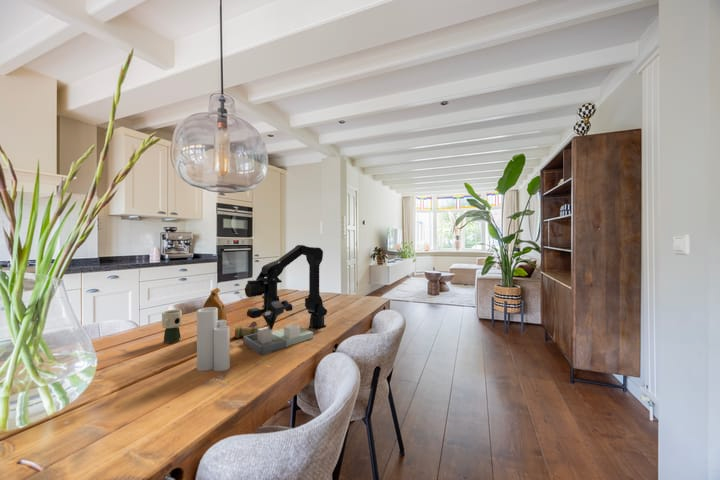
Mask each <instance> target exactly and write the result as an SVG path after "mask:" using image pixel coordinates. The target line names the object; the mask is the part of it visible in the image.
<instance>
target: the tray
mask: <svg viewBox="0 0 720 480" xmlns="http://www.w3.org/2000/svg"><path fill="white" fill-rule="evenodd" d="M242 340H243V342H242V343H243V345H245V346H246V347H248V348H250V349H251V350H253V351H254V352H255V353H257V354H259V355H261V356H264V355H266V354H267V355H268V354H271V353H273V352H278V351H280V350H283V349H286V348H287V347H288V346H287V340H283V341H280V342H277V341H275V340H273V339H272V341H271V342H267V343H261V342H259V341H258V333H255V334H251V335H247V336H243V337H242Z"/></svg>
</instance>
